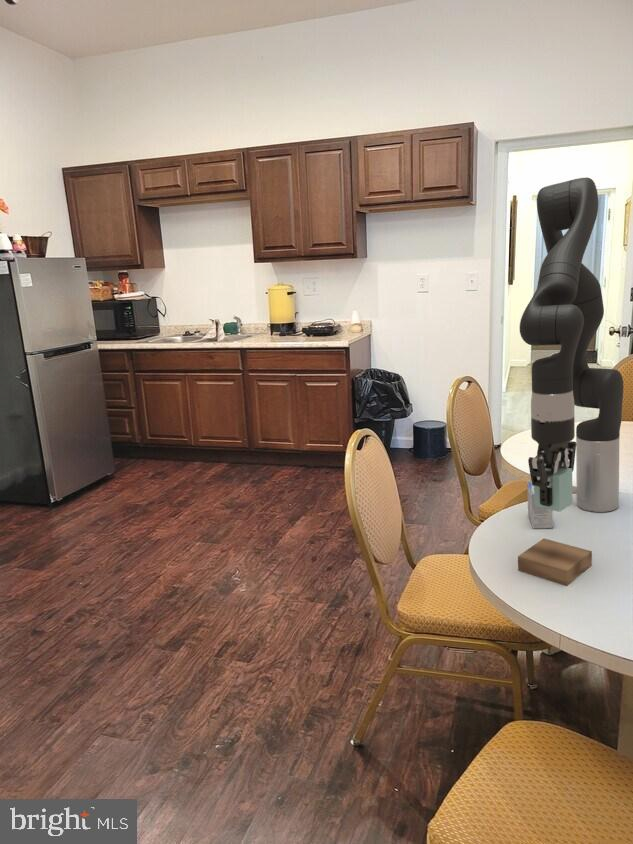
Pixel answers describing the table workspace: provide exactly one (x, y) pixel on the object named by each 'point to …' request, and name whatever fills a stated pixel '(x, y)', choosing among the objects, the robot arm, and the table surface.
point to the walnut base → (555, 561)
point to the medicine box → (538, 511)
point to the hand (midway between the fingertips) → (553, 500)
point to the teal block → (558, 490)
